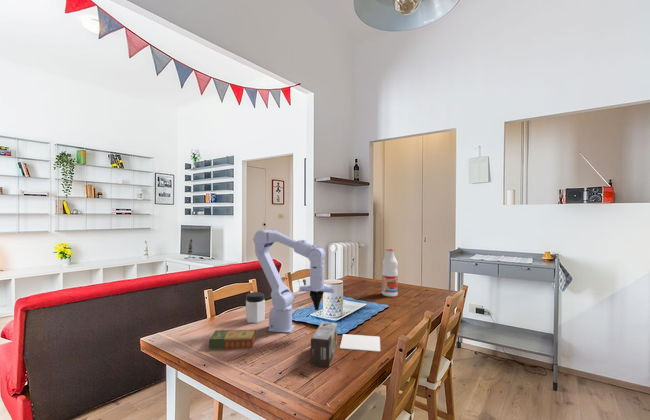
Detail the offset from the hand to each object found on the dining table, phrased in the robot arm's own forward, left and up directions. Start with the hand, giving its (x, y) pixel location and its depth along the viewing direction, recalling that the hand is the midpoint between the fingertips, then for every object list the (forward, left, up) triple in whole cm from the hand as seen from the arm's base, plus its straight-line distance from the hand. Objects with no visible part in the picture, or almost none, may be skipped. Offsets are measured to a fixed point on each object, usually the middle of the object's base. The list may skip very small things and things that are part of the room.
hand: (316, 309), depth 131 cm
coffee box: (+7, -9, -6) cm, 13 cm away
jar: (-31, +11, -11) cm, 35 cm away
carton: (-30, -14, -11) cm, 35 cm away
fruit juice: (+33, +66, -11) cm, 74 cm away
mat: (+18, -5, -10) cm, 22 cm away
